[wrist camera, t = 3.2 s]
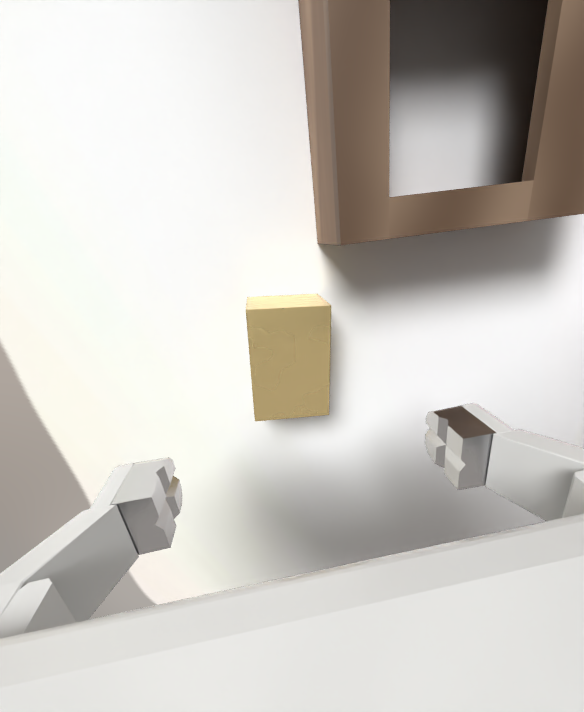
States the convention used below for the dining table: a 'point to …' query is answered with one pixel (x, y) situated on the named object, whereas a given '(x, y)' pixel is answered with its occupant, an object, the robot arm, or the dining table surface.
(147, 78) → the dining table surface
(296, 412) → the brushed brass pillar
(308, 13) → the brown wooden frame
